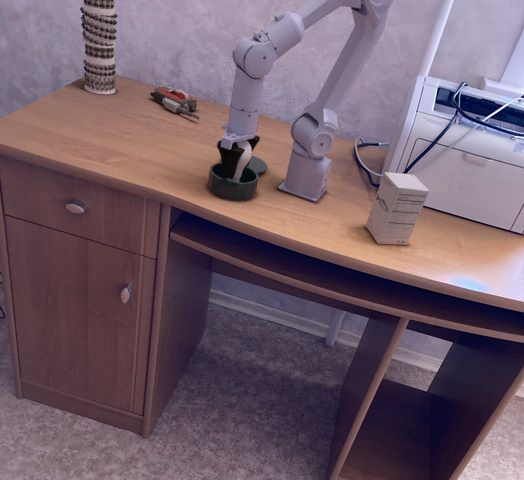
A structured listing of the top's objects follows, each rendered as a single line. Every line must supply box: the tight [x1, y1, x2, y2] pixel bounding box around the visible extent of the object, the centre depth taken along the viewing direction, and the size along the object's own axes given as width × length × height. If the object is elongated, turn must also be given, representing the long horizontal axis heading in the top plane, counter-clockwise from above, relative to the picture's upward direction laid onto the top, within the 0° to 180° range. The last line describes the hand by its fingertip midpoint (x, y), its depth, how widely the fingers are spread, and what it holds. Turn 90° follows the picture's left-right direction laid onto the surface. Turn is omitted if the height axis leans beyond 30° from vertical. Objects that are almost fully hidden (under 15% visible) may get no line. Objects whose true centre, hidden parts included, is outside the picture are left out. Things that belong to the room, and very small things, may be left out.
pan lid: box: [220, 155, 268, 175], centre depth 125 cm, size 11×11×5 cm
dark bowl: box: [207, 161, 259, 202], centre depth 115 cm, size 11×11×4 cm
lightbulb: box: [227, 140, 253, 183], centre depth 112 cm, size 6×6×11 cm
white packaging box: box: [365, 171, 430, 246], centre depth 109 cm, size 7×7×13 cm
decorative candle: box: [79, 0, 118, 95], centre depth 141 cm, size 9×9×25 cm
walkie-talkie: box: [149, 86, 200, 121], centre depth 148 cm, size 9×4×20 cm
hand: (234, 172), depth 113 cm, fingers closed on lightbulb, 6 cm apart
